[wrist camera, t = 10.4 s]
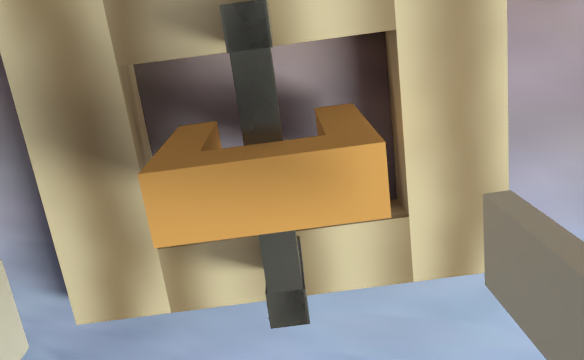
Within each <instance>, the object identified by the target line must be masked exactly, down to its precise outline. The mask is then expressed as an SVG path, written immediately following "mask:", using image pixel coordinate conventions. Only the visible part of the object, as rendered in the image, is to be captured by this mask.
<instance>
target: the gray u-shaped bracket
mask: <svg viewBox="0 0 584 360" xmlns="http://www.w3.org/2000/svg"><path fill="white" fill-rule="evenodd" d="M219 7H220V13H221V19H222V26H223V32H224V38H225V45H226V51H227V53H230V60H231V66H232V72H233V79H234V85H235V91H236V98H237V104H238V110H239V117H240V123H241V129H242V135H243V142H244V146H246V145H253V144H261V143H268V142H276V141H283V133H282V126H281V119H280V111H279V104H278V96H277V89H276V82H275V74H274V67H273V60H272V52H271V47H273V33H272V25H271V18H270V10H269V3H268V1H267V0H252V1H245V2H238V3H230V4H223V5H219ZM258 237H259V243H260V249H261V256H262V262H263V268H264V274H265V281H266V289H265V295H266V301H267V308H268V314H269V320H270V326H271V329H272V328H280V327H288V326H296V325H304V324H310V320H309V310H308V301H307V292H306V283H305V273H304V264H303V257H302V249H301V242H300V236H296V230H292V231H285V232H277V233H269V234H262V235H258Z"/></svg>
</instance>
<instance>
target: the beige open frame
mask: <svg viewBox="0 0 584 360" xmlns="http://www.w3.org/2000/svg"><path fill="white" fill-rule="evenodd" d="M245 1H252V0H0V53H1V57H2V61H3V64H4V68H5V71H6V75H7V78H8V82H9V86H10V89H11V93H12V96H13V100H14V103H15V107H16V110H17V114H18V118H19V121H20V125H21V128H22V132H23V135H24V139H25V143H26V146H27V150H28V153H29V157H30V160H31V164H32V168H33V171H34V175H35V178H36V182H37V185H38V189H39V192H40V196H41V200H42V203H43V207H44V210H45V214H46V217H47V221H48V225H49V228H50V232H51V235H52V239H53V242H54V246H55V250H56V253H57V257H58V260H59V264H60V267H61V271H62V274H63V278H64V282H65V285H66V289H67V292H68V296H69V299H70V303H71V307H72V310H73V314H74V317H75V321H76V324H77V325H80V324H87V323H95V322H103V321H111V320H119V319H126V318H134V317H142V316H150V315H158V314H166V313H173V312H181V311H189V310H197V309H205V308H212V307H220V306H228V305H236V304H244V303H252V302H259V301H266V295H265V289H266V281H265V274H264V268H263V262H262V256H261V249H260V243H259V237H258V235H254V236H246V237H238V238H231V239H223V240H215V241H207V242H200V243H192V244H184V245H176V246H169V247H161V248H154V246H153V242H152V237H151V233H150V228H149V224H148V219H147V215H146V210H145V206H144V201H143V197H142V192H141V188H140V183H139V179H138V173H139V172H140V171H141V170H142V169H143V167H144V166H145V165H146V164H147V163H148V162H149V161H150V159H151V158H152V152H151V148H150V143H149V138H148V133H147V129H146V124H145V119H144V114H143V110H142V105H141V100H140V95H139V91H138V86H137V81H136V76H135V72H134V67H133V65H135V64H143V63H150V62H158V61H165V60H173V59H180V58H188V57H195V56H203V55H210V54H218V53H225V52H227V51H226V45H225V38H224V32H223V26H222V19H221V13H220V7H219V5H223V4H230V3H238V2H245ZM267 1H268V3H269V10H270V18H271V25H272V33H273V46H278V45H285V44H293V43H300V42H308V41H315V40H323V39H330V38H338V37H345V36H353V35H360V34H368V33H375V32H383V31H385V38H386V51H387V65H388V78H389V92H390V105H391V118H392V132H393V145H394V159H395V172H396V186H397V199H394V200H390V206H391V218H385V219H378V220H370V221H362V222H354V223H347V224H339V225H331V226H323V227H316V228H308V229H300V230H296V236H300V242H301V249H302V257H303V264H304V273H305V283H306V292H307V295H314V294H322V293H330V292H338V291H345V290H353V289H361V288H369V287H377V286H384V285H392V284H400V283H408V282H416V281H423V280H431V279H439V278H447V277H455V276H463V275H470V274H478V273H485V268H484V230H483V194H485V193H493V192H500V191H507V190H509V174H508V74H507V0H267Z"/></svg>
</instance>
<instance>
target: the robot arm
mask: <svg viewBox="0 0 584 360" xmlns="http://www.w3.org/2000/svg"><path fill="white" fill-rule="evenodd" d="M483 230H484V268H485V285H486V286H487V288H488V289H489V290H490V291H491V292H492V294H493V295H494V296H495V297H496V299H497V300H498V301H499V302H500V303H501V305H502V306H503V307H504V308H505V310H506V311H507V312H508V313H509V314H510V316H511V317H512V318H513V319H514V320H515V322H516V323H517V324H518V325H519V327H520V328H521V329H522V330H523V331H524V333H525V334H526V335H527V336H528V338H529V339H530V340H531V341H532V342H533V344H534V345H535V346H536V347H537V349H538V350H539V351H540V352H541V353H542V355H543V356H544V357H545V358H546V359H547V360H584V242H583V241H582V240H580V239H579V238H577V237H576V236H575V235H573V234H572V233H570V232H569V231H568V230H566V229H565V228H563V227H562V226H561V225H559V224H558V223H556V222H555V221H553V220H552V219H551V218H549V217H548V216H546V215H545V214H544V213H542V212H541V211H539V210H538V209H536V208H535V207H534V206H532V205H531V204H529V203H528V202H527V201H525V200H524V199H522V198H521V197H520V196H518V195H517V194H515V193H514V192H512V191H511V190H507V191H500V192H493V193H485V194H483ZM28 348H29V346H28V343H27V339H26V336H25V333H24V330H23V327H22V323H21V320H20V317H19V314H18V311H17V307H16V304H15V301H14V298H13V295H12V291H11V288H10V285H9V282H8V279H7V275H6V272H5V269H4V266H3V263H2V260H0V360H20V359H21V358H22V357H23V355H24V354H25V352H26V351H27V350H28Z"/></svg>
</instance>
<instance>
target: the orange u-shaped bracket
mask: <svg viewBox="0 0 584 360" xmlns="http://www.w3.org/2000/svg"><path fill="white" fill-rule="evenodd" d="M315 114H316V123H317V131H318V136H314V137H307V138H299V139H291V140H284V141H276V142H268V143H261V144H253V145H246V146H238V147H230V148H223V149H222V148H221V142H220V137H219V131H218V125H217V121H213V122H205V123H198V124H190V125H183V126H179V127H178V128H177V129H176V130H175V131H174V133H173V134H172V135H171V136H170V137H169V138H168V140H167V141H166V142H165V143H164V144H163V145H162V147H161V148H160V149H159V150H158V151H157V152H156V154H155V155H154V156H153V157H152V158H151V159H150V161H149V162H148V163H147V164H146V165H145V166H144V167H143V169H142V170H141V171H140V172H139V173H138V179H139V183H140V188H141V192H142V197H143V201H144V206H145V210H146V215H147V219H148V224H149V228H150V233H151V237H152V242H153V246H154V248H161V247H169V246H176V245H184V244H192V243H200V242H207V241H215V240H223V239H231V238H238V237H246V236H254V235H262V234H269V233H277V232H285V231H292V230H300V229H308V228H316V227H323V226H331V225H339V224H347V223H354V222H362V221H370V220H378V219H385V218H391V206H390V194H389V181H388V168H387V156H386V143H385V141H384V140H383V138H382V137H381V136H380V135H379V134H378V133H377V131H376V130H375V129H374V128H373V127H372V125H371V124H370V123H369V122H368V121H367V120H366V118H365V117H364V116H363V115H362V114H361V112H360V111H359V110H358V109H357V108H356V107H355V105H354V104H353V103H350V104H342V105H334V106H327V107H319V108H315Z"/></svg>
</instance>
